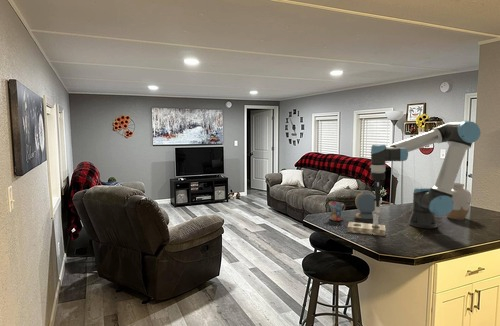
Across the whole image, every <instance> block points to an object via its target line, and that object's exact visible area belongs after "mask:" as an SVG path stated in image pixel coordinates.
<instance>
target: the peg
mask: <svg viewBox="0 0 500 326" xmlns="http://www.w3.org/2000/svg"><path fill="white" fill-rule="evenodd" d="M372 214H373V219H372V224H373V228H378V225H380V224H379V223H380V222H379V221H380V218H379V217H380V215H379V214H377V213H372Z"/></svg>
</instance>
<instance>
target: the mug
mask: <svg viewBox="0 0 500 326" xmlns="http://www.w3.org/2000/svg"><path fill="white" fill-rule="evenodd" d="M328 205H329V208H330V215H329V217H328V219H330V220H331V221H336V222H339V221H343V214H342V213H343V212H344V211H345V209H346V205H345V204H344V202H341V201H340V202H339V201H331V202H329V203H328Z"/></svg>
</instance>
